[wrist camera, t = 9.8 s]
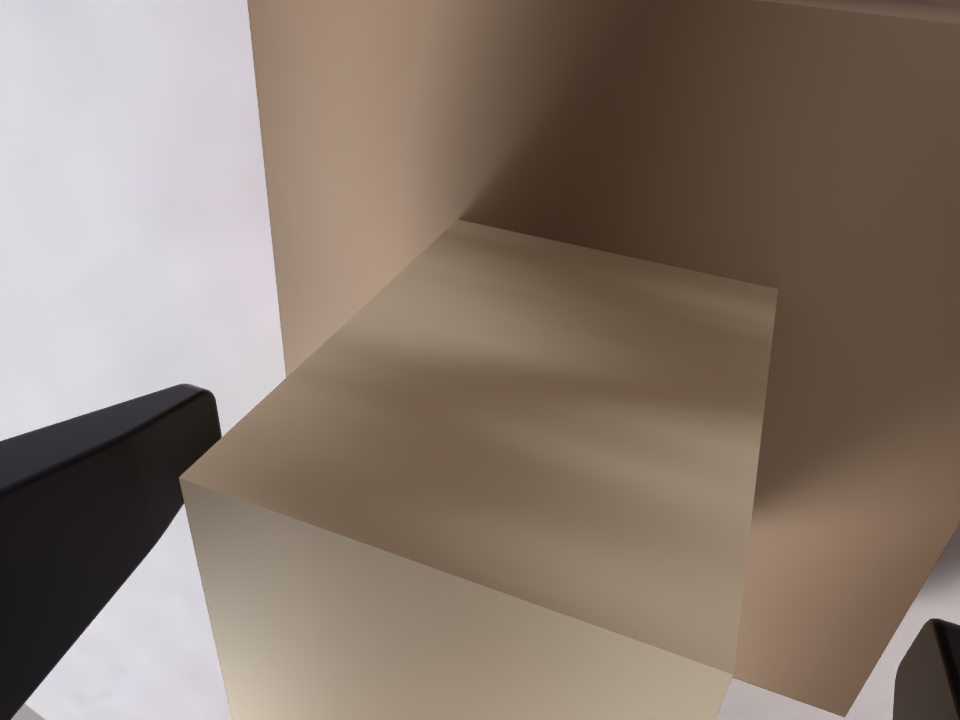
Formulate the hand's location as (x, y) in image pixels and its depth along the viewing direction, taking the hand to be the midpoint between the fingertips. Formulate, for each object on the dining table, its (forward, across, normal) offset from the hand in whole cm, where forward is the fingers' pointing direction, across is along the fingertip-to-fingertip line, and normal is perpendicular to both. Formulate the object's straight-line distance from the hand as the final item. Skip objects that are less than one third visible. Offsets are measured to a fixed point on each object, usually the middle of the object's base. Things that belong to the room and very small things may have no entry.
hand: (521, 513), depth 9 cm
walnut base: (+6, 0, 0) cm, 6 cm away
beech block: (+3, 0, 0) cm, 3 cm away
